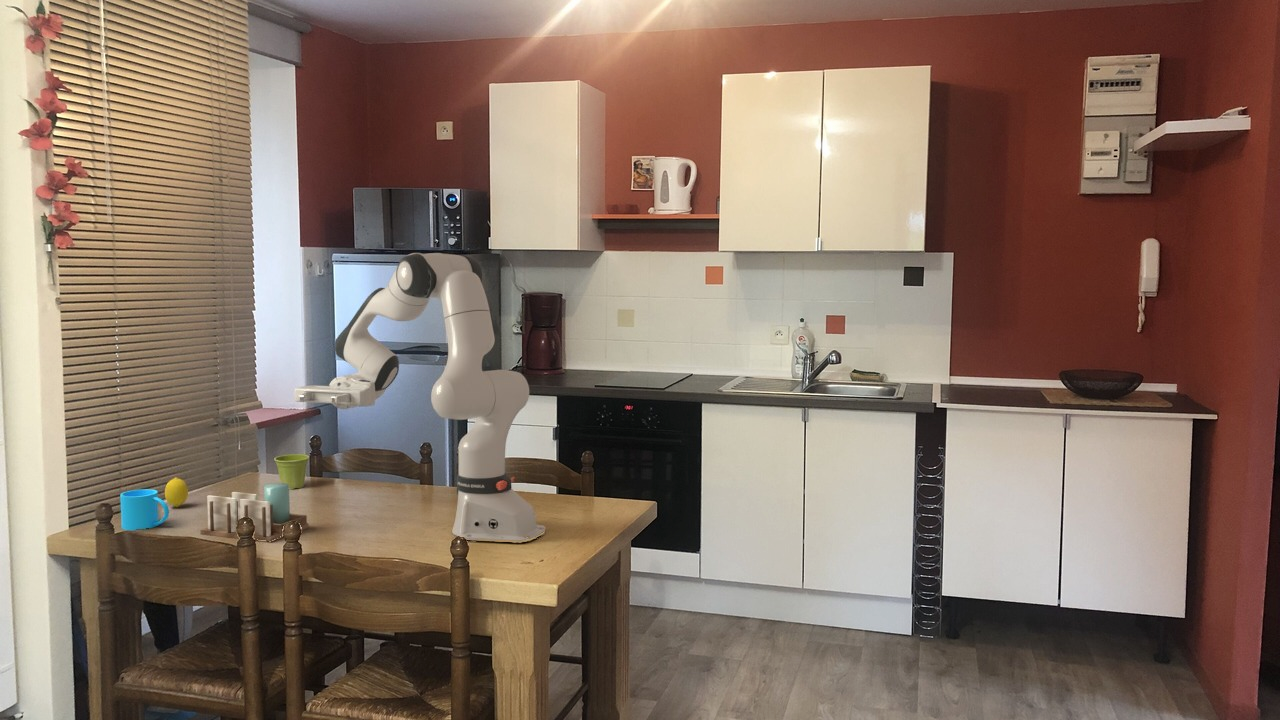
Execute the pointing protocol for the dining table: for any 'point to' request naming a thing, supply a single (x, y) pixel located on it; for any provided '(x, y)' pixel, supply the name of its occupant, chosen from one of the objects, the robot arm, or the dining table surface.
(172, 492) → the lemon
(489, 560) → the dining table surface
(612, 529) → the dining table surface
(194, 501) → the dining table surface
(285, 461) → the plant pot
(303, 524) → the rack
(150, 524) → the mug
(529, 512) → the robot arm
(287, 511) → the teal glossy cylinder
